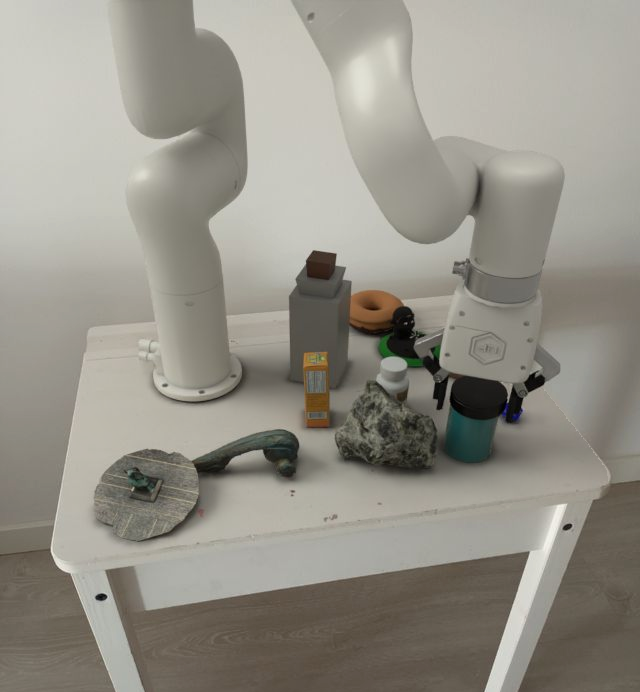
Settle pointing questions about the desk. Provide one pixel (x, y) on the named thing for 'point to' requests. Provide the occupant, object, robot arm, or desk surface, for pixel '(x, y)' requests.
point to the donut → (373, 310)
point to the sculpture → (146, 493)
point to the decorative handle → (273, 443)
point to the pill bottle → (394, 377)
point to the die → (515, 416)
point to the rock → (387, 431)
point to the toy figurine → (404, 338)
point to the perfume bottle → (320, 315)
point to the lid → (478, 398)
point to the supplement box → (316, 389)
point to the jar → (468, 437)
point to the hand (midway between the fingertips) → (474, 409)
